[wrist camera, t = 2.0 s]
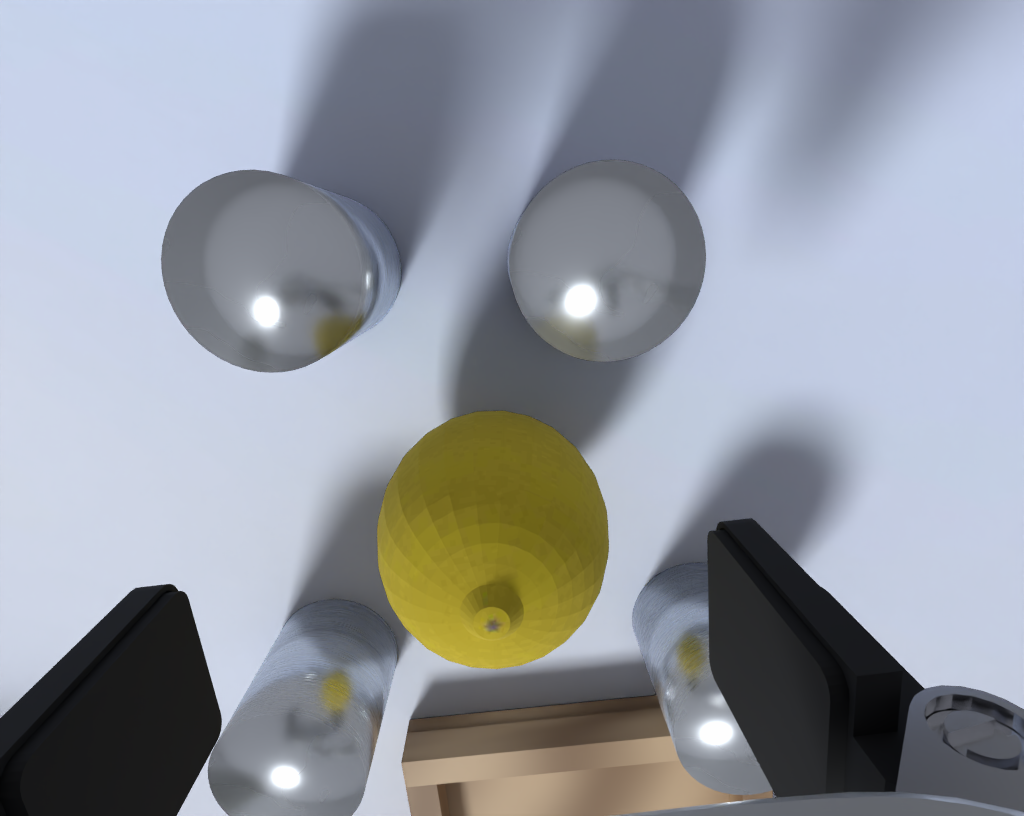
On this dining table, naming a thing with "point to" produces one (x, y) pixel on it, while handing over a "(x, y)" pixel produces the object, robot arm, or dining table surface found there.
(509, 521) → the lemon
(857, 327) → the dining table surface
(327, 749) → the cylinder
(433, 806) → the tray
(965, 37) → the dining table surface
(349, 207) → the cylinder
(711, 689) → the cylinder
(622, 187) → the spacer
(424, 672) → the dining table surface
